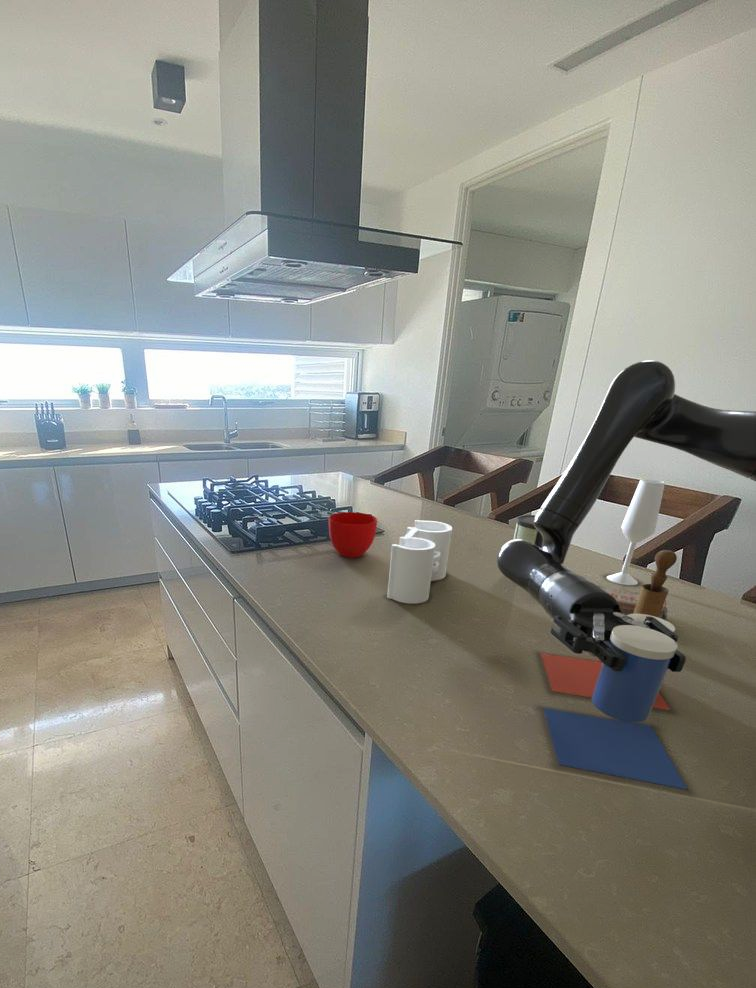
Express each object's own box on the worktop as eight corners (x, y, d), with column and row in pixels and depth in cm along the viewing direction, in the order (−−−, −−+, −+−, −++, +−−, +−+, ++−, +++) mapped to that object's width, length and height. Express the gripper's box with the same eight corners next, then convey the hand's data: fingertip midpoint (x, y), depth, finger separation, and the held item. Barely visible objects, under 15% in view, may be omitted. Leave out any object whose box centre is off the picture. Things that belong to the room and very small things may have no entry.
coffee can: (553, 573, 122) (566, 518, 117) (547, 586, 114) (561, 528, 109) (510, 565, 127) (521, 512, 122) (502, 577, 119) (513, 521, 113)
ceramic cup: (384, 546, 140) (387, 512, 136) (366, 564, 126) (368, 527, 122) (341, 540, 145) (343, 507, 141) (320, 557, 131) (321, 520, 126)
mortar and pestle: (619, 647, 88) (650, 553, 81) (613, 632, 94) (641, 542, 86) (661, 654, 86) (697, 559, 79) (653, 638, 92) (685, 547, 84)
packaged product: (668, 593, 99) (671, 611, 92) (661, 615, 101) (663, 634, 94) (571, 575, 108) (566, 590, 100) (566, 595, 110) (560, 611, 102)
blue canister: (640, 696, 64) (665, 629, 60) (658, 727, 58) (687, 656, 54) (585, 687, 65) (605, 621, 61) (597, 717, 60) (621, 647, 55)
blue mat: (651, 727, 68) (651, 726, 68) (687, 791, 57) (687, 789, 57) (543, 709, 71) (543, 707, 71) (558, 766, 61) (558, 764, 61)
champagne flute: (643, 581, 118) (675, 482, 108) (630, 587, 115) (662, 485, 105) (614, 573, 123) (643, 477, 114) (601, 578, 120) (629, 480, 110)
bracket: (426, 607, 103) (433, 553, 98) (382, 598, 106) (387, 545, 101) (449, 570, 123) (456, 523, 118) (411, 563, 127) (416, 518, 122)
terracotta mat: (642, 669, 82) (642, 667, 82) (670, 711, 71) (670, 710, 71) (540, 654, 86) (540, 653, 86) (551, 692, 75) (552, 691, 75)
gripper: (533, 579, 70) (599, 636, 55) (631, 580, 70) (724, 637, 55) (522, 625, 73) (582, 691, 58) (616, 626, 73) (700, 692, 58)
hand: (650, 664), depth 56 cm, fingers closed on blue canister, 6 cm apart
